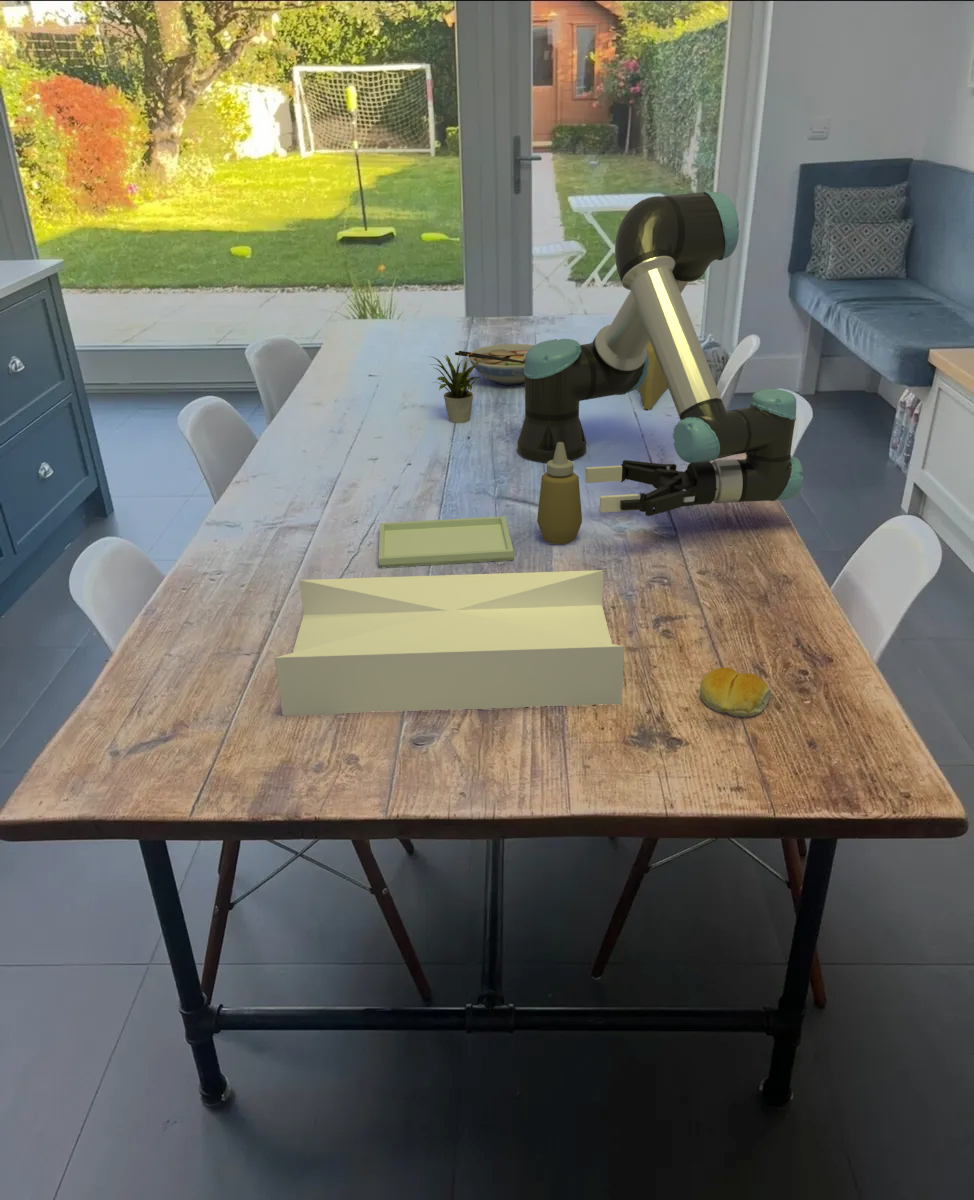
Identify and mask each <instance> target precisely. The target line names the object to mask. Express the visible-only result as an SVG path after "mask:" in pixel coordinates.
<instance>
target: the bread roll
mask: <svg viewBox="0 0 974 1200" xmlns="http://www.w3.org/2000/svg"><path fill="white" fill-rule="evenodd" d="M699 693H700V697H701V700H702V701H703V703H704V704H705V705H706V706H707V707H708V708H710V709H711V710H713V711H716V712H719V713H723V714H724V713H728V714H729V715H731V716H733V717H740V718H741V717H743V718H745V717H746V718H748V717H754V716H757V715H759V714H761V713H762V712H763V711H764V710H765V709H766V707H767V705H768V703H769V701H770V699H771V694H772V690H771V689H770V687H769V685H768V684H767V682H766V681H765V680H764V679H763V678H761V677H760V676H758V675H756V674H755V673H750V672H746V673H745V672H744V673H739V672H738V671H737V670H735V669H732V668H729V667H718V668H715V669H713V670H711V671H709V672H708V673H707V674H705V675H704V676H703V678H702V679H701V681H700V683H699Z"/></svg>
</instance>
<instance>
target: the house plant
mask: <svg viewBox="0 0 974 1200" xmlns="http://www.w3.org/2000/svg"><path fill="white" fill-rule="evenodd" d="M460 354H461V353H460ZM428 357H430V358H433V359H435V360H436V361H437V362H438V363H439V364H435V363H434V364H430V366H431V365H432V366H433V365H435V366H438V367H440V369H442V370H443V371H444V372H442V371H441V370H440V369H439V368H436V367H434V369H435V370H437V371H439V372H440V374H441V375H442V376H439V377H437V379H436V380H439V381H440V382H437V381H436V382H435V381H433V382H432V383H436V384H439V385H440V386H439V389H438V391H440V390H441V389H444V388H445V389H446V391H447V392H445V393H443V399H444V403H445V409H446V413H447V417H448V422H449V423H452V422H453V423H454V424H463V423H464V424H465V423H468V422H470V421H471V415H472V408H473V400H474V393H473V392H472V389H473V384H475V383H477V382H482V380H480V378H482V377H480V376H473V377H469V375H470V374H471V372H472V371H473V370H474V369H475V367H476V365H477V364H478V363H479V362H480V361H481V360H483V359H484V358H483V359H480V360H479V361H477V362H476V363H475V364H474V365H472V366H470V367H469V368H467V367H468V357H465V358H463V359H462V360H461V361H460V362H459V360H460V357H461V356H460V355H458V359H457V362H458V363H457V365H456V368H455V366H454V365H453V363H452V362H451V359H450V357H449V356H448V355H447V354H445V355H443V357H444V358H445V360H446V362H447V365H448V367H449V369H450V373H451V375H450V373H449V372H448V370H447V369H446V367H445V366H444V364H443V363H442V361H440V360H439V359H438V358H437V357H434V356H429V355H428ZM464 360H465V361H464ZM463 361H464V364H463V368H462V372H461V371H459V370H460V366H461V362H463ZM444 373H445V374H446V375H447V377H448V378H449V380H448V379H447V377H446V376H445V374H444ZM475 379H476V380H475ZM472 380H474V381H472ZM471 381H472V382H471ZM446 386H447V387H448V388H447V387H446Z"/></svg>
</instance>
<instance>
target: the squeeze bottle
mask: <svg viewBox="0 0 974 1200" xmlns="http://www.w3.org/2000/svg"><path fill="white" fill-rule="evenodd" d="M574 464H575V463H574V462H573V460H568V459H567V456H566V451H565V446H564V443H563V442H557V445H556V450H555V454H554V458H553V460H550V461H548V462H546V472H545V473H544V474H543V475H541V478H540V480H541V481H540V491H539V499H538V508H537V509H538V510H537V519H536V522H537V525H538V528H539V531H540V534H541V536H542V539H543V541H544V542H546V543H547V544H553V545H567V544H570V543H573V542H574V541H576V539H577V536H578V534H579V531H580V529H581V525H582V523H583V514H582V513H583V512H582V502H581V500H582V499H581V490H580V479H579V478H580V477H579V476H578V474H576V472H574Z"/></svg>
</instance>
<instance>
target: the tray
mask: <svg viewBox="0 0 974 1200" xmlns="http://www.w3.org/2000/svg"><path fill="white" fill-rule="evenodd" d="M378 539H379V543H378V566H379V567H392V568H402V567H401V566H410V567H417V566H416V565H427V566H442V565H458V564H459V563H462V564H474V563H473V562H479V563H487V562H486V561H496V562H509V560H515V559H514V549H513V544H512V540H511V535H510V531H509V526H508V522H507V519H506V516H503V515H501V516H488V517H485V516H484V517H469V518H448V519H435V520H434V519H433V520H416V521H415V520H414V521H413V520H412V521H398V522H397V521H394V522H392V521H391V522H381V523H379V538H378ZM459 565H460V564H459Z"/></svg>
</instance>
